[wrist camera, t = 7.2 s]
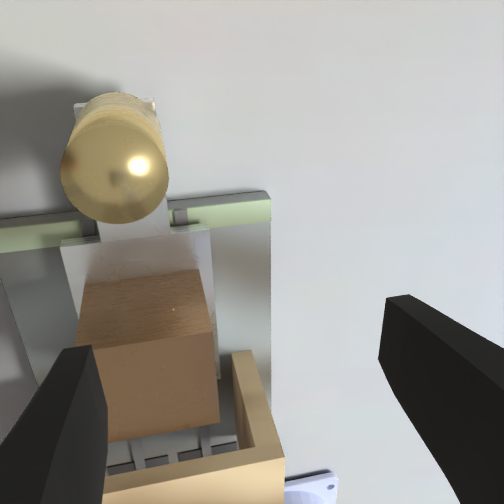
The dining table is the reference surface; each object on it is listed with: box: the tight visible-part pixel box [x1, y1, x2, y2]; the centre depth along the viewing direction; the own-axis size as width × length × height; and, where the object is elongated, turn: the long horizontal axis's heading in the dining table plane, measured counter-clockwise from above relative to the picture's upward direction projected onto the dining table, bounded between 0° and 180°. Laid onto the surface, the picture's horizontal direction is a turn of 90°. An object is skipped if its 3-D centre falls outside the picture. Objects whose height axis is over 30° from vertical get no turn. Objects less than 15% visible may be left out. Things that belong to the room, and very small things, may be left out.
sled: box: [60, 92, 221, 443], centre depth 18 cm, size 13×6×5 cm, turn 1°
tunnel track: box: [0, 191, 285, 504], centre depth 21 cm, size 18×11×7 cm, turn 1°
